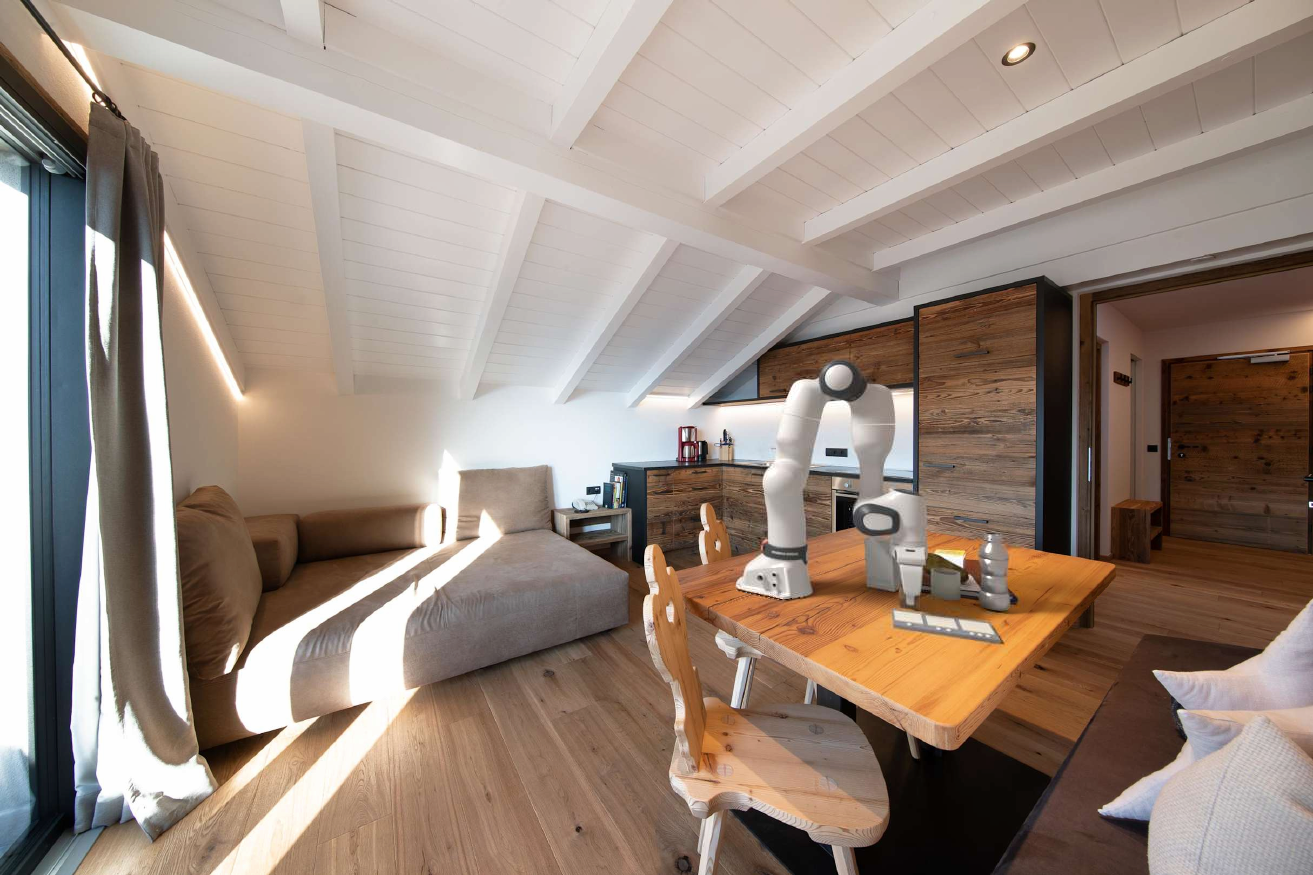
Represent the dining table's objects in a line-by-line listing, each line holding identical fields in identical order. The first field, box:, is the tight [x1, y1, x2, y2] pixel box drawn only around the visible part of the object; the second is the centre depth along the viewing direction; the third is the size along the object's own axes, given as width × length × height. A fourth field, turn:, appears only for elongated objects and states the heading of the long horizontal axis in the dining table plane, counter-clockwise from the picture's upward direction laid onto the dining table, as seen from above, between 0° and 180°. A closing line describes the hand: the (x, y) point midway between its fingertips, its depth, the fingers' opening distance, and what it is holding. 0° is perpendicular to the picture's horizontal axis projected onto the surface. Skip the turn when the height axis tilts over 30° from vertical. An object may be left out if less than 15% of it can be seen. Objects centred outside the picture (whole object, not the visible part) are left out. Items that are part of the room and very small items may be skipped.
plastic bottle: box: [977, 531, 1011, 612], centre depth 115 cm, size 6×7×20 cm
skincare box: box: [863, 536, 902, 593], centre depth 133 cm, size 8×6×15 cm
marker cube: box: [898, 585, 921, 611], centre depth 119 cm, size 4×4×4 cm
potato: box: [923, 552, 970, 584], centre depth 138 cm, size 8×13×8 cm, turn 33°
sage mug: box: [930, 568, 961, 602], centre depth 125 cm, size 7×7×7 cm
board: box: [891, 608, 1002, 645], centre depth 106 cm, size 21×10×1 cm, turn 64°
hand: (909, 599), depth 119 cm, fingers closed on marker cube, 4 cm apart
